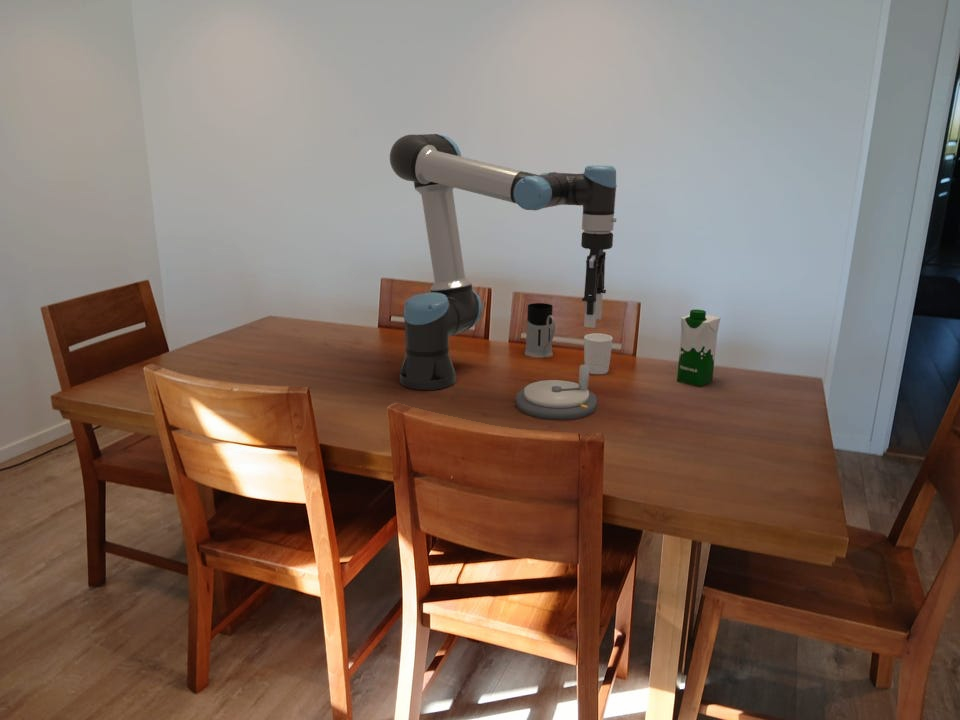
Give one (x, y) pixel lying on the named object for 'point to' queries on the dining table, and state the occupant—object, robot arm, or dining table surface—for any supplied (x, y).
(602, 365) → the white cup
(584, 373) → the cream crank wheel
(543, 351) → the glass holder
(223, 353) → the dining table surface
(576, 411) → the stand base
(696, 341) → the milk carton
